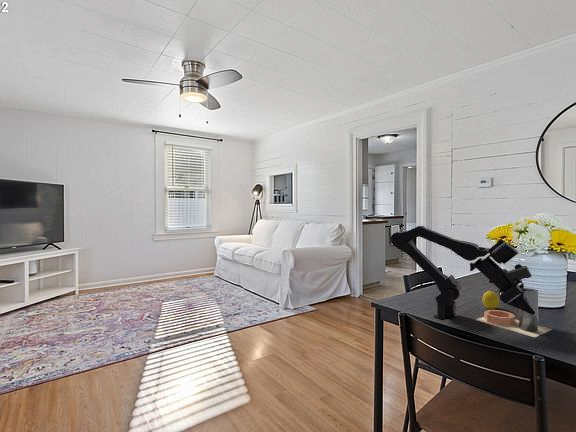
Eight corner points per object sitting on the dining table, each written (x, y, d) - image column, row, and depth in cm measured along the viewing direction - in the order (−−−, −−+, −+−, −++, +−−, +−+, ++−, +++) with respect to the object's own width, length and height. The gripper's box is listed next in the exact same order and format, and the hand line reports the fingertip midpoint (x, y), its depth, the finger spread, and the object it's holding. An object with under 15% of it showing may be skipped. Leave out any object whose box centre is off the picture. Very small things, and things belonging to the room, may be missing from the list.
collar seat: (506, 327, 108) (505, 319, 108) (480, 319, 115) (480, 312, 115) (519, 322, 112) (519, 315, 112) (493, 315, 119) (493, 308, 119)
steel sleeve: (533, 333, 102) (533, 292, 102) (516, 328, 107) (515, 289, 106) (541, 329, 105) (541, 290, 104) (523, 325, 109) (523, 286, 109)
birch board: (534, 340, 99) (534, 337, 99) (474, 322, 115) (474, 319, 115) (552, 332, 105) (552, 329, 105) (493, 316, 121) (493, 313, 121)
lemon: (479, 309, 129) (479, 289, 129) (489, 307, 131) (489, 288, 131) (492, 313, 124) (492, 292, 124) (502, 311, 126) (502, 291, 126)
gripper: (512, 261, 100) (558, 302, 94) (514, 253, 115) (554, 288, 109) (483, 283, 105) (525, 323, 99) (488, 273, 120) (525, 307, 114)
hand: (533, 309), depth 105 cm, fingers open, 9 cm apart
